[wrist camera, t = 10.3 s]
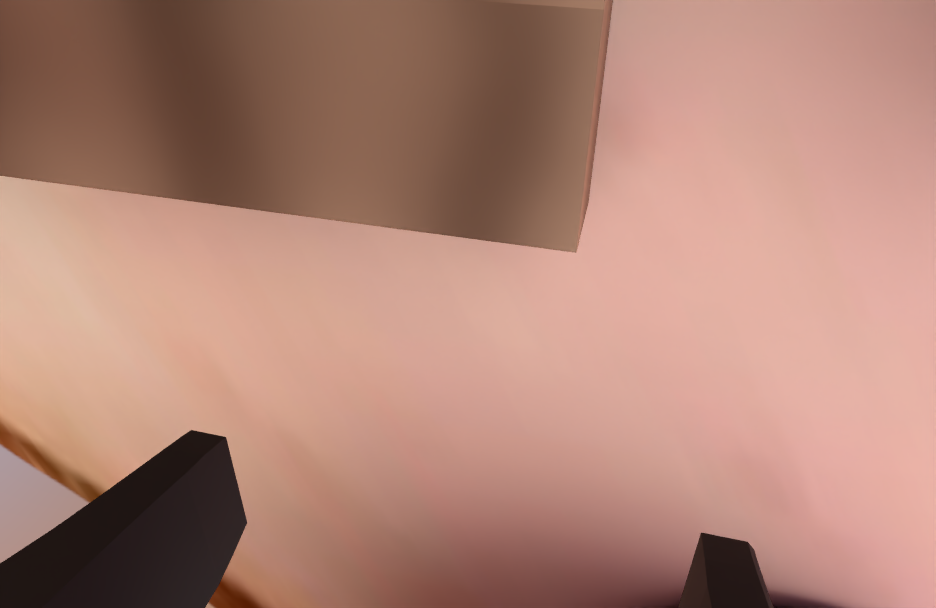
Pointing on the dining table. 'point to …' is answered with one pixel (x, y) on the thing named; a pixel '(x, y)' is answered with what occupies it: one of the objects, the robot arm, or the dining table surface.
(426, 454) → the dining table surface
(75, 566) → the robot arm
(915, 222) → the dining table surface
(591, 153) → the block with rectangular hole
